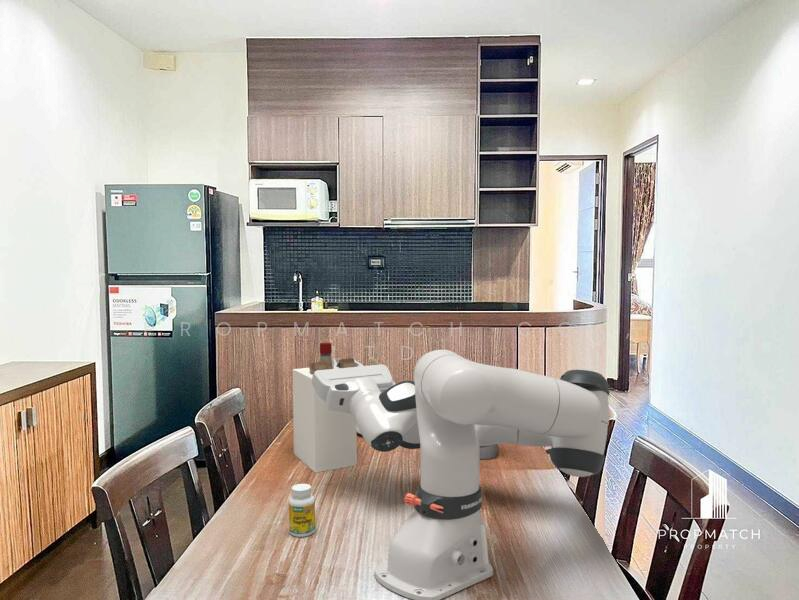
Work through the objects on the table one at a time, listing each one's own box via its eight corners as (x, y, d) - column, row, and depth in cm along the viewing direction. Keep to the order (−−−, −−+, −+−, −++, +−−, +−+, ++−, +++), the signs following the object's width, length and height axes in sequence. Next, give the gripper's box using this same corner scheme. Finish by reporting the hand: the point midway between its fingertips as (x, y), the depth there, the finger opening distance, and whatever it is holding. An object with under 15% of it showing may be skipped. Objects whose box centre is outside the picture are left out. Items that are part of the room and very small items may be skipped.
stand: (356, 465, 165) (355, 375, 164) (315, 472, 160) (314, 379, 158) (332, 447, 181) (331, 365, 180) (293, 453, 176) (292, 369, 174)
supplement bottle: (314, 525, 128) (313, 481, 128) (316, 536, 123) (315, 490, 122) (288, 527, 127) (287, 483, 126) (289, 539, 122) (289, 492, 121)
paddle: (361, 365, 154) (360, 355, 154) (336, 367, 150) (335, 357, 151) (333, 370, 171) (332, 362, 171) (309, 373, 168) (309, 364, 168)
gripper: (402, 381, 149) (381, 348, 159) (325, 390, 139) (307, 353, 149) (396, 400, 152) (375, 366, 162) (321, 410, 142) (303, 373, 152)
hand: (342, 360), depth 156 cm, fingers closed on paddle, 3 cm apart
